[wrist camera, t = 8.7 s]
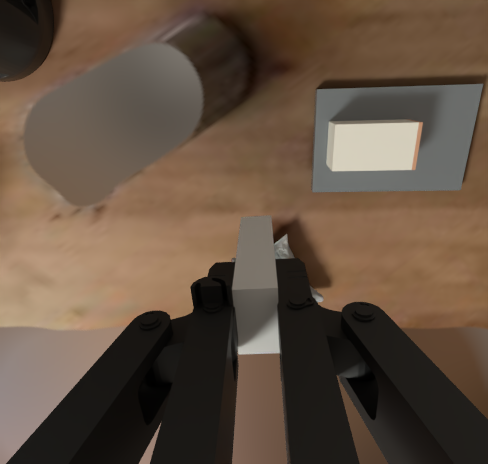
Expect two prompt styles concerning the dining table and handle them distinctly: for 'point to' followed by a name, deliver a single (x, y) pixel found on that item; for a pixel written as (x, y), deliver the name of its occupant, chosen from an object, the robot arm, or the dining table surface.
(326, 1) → the dining table surface
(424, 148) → the board
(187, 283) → the dining table surface
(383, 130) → the block
